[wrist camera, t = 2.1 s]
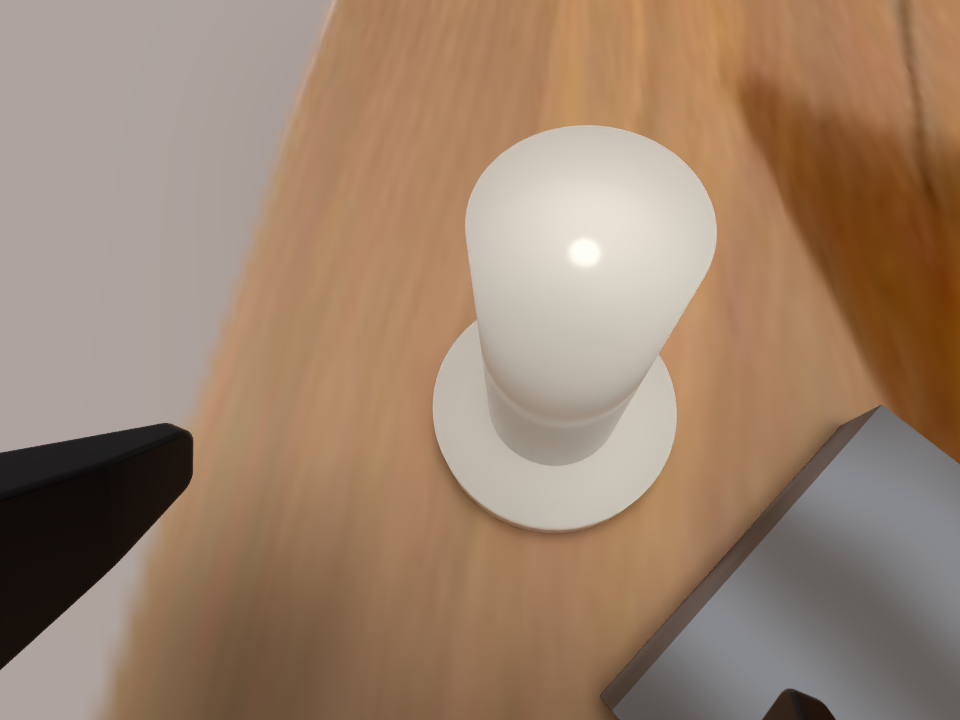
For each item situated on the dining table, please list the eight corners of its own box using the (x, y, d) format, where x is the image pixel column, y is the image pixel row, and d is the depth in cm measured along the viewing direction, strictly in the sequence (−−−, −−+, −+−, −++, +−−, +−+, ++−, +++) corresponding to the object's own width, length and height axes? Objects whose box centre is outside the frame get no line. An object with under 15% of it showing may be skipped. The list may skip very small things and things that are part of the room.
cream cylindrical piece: (538, 586, 20) (572, 572, 8) (396, 405, 22) (271, 202, 11) (710, 432, 21) (942, 240, 10) (558, 282, 24) (598, -6, 13)
